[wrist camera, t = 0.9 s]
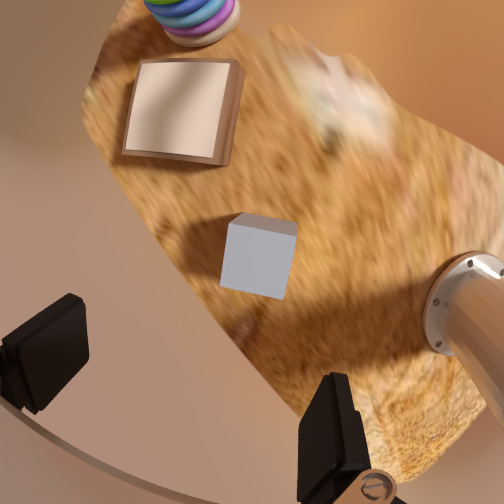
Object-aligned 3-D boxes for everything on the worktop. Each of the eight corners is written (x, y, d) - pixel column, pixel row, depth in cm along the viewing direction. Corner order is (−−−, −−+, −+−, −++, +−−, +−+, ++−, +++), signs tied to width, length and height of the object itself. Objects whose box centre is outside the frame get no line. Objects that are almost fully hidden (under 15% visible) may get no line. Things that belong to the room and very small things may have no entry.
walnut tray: (245, 74, 23) (236, 58, 19) (228, 165, 26) (216, 164, 22) (158, 71, 24) (138, 59, 20) (142, 155, 27) (120, 154, 23)
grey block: (296, 222, 26) (297, 236, 21) (285, 273, 28) (283, 299, 22) (243, 212, 27) (229, 223, 21) (234, 262, 28) (219, 285, 23)
